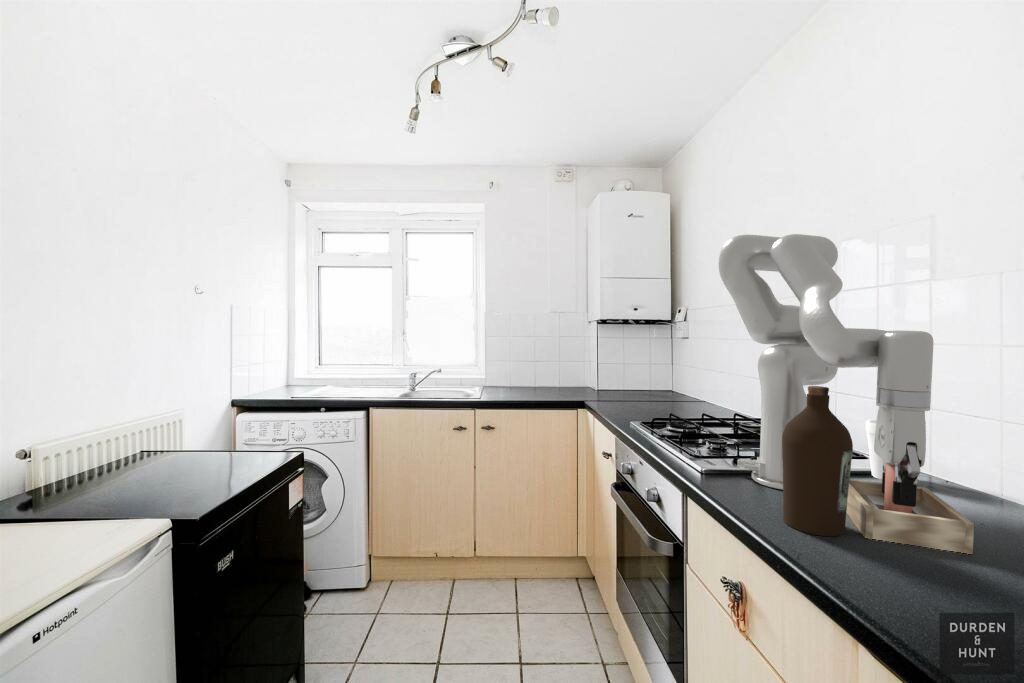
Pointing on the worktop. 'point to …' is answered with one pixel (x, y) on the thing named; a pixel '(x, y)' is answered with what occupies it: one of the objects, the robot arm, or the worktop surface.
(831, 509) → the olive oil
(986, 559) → the worktop surface
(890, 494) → the peg
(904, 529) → the box
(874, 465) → the foam cup
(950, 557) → the worktop surface
